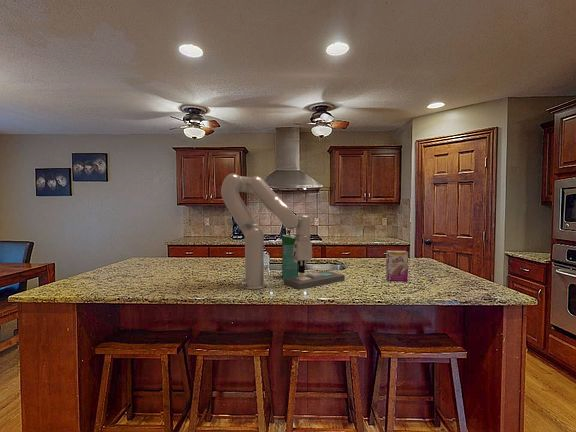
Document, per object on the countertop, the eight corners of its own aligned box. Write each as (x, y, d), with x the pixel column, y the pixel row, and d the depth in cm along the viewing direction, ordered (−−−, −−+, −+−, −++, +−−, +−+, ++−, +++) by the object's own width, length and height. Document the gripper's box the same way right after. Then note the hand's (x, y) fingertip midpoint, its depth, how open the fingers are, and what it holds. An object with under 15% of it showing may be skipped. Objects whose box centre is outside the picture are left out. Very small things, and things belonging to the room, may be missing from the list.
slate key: (314, 280, 170) (314, 275, 170) (307, 278, 175) (307, 273, 175) (322, 278, 174) (322, 274, 174) (315, 276, 179) (315, 272, 179)
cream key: (302, 284, 166) (302, 280, 166) (295, 282, 171) (295, 278, 170) (311, 283, 169) (311, 278, 169) (304, 281, 174) (304, 276, 174)
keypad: (299, 289, 160) (299, 283, 160) (283, 284, 171) (283, 278, 171) (344, 280, 179) (344, 275, 178) (327, 275, 190) (327, 270, 190)
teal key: (325, 280, 175) (325, 275, 175) (317, 278, 180) (317, 274, 180) (333, 278, 179) (333, 274, 179) (325, 276, 184) (325, 272, 184)
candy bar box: (387, 281, 177) (387, 251, 177) (385, 279, 182) (386, 250, 182) (408, 281, 176) (408, 252, 175) (405, 279, 181) (406, 250, 180)
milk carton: (298, 279, 181) (298, 235, 180) (282, 279, 182) (282, 235, 181) (297, 275, 190) (297, 234, 189) (282, 275, 191) (282, 233, 190)
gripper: (296, 239, 161) (294, 275, 162) (318, 238, 170) (316, 272, 171) (287, 238, 168) (285, 272, 168) (309, 237, 176) (307, 270, 177)
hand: (301, 272), depth 170 cm, fingers closed
